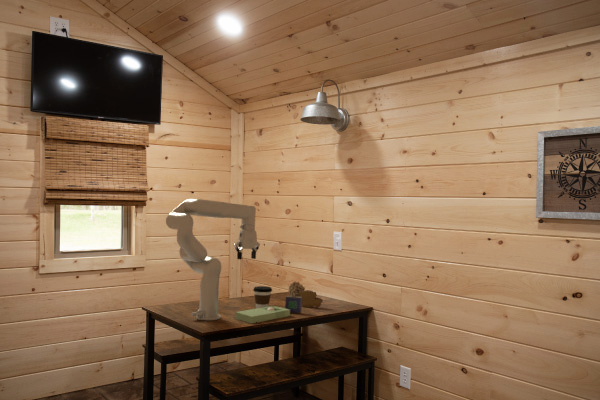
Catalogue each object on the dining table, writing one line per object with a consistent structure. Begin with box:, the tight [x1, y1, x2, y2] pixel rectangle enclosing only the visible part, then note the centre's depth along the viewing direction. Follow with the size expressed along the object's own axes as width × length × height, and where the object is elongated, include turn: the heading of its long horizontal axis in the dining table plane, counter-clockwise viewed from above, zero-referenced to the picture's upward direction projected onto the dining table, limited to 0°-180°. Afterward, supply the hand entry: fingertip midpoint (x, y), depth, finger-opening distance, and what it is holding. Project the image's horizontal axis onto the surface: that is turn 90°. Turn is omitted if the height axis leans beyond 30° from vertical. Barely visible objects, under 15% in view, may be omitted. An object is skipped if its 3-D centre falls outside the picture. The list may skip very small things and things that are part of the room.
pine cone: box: [288, 281, 306, 297], centre depth 322 cm, size 22×10×10 cm, turn 34°
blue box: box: [284, 294, 303, 314], centre depth 280 cm, size 9×3×11 cm, turn 80°
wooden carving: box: [299, 289, 324, 309], centre depth 296 cm, size 16×5×10 cm, turn 75°
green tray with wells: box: [234, 305, 291, 324], centre depth 266 cm, size 27×13×3 cm, turn 136°
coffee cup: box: [252, 285, 273, 309], centre depth 287 cm, size 11×11×12 cm
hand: (246, 258), depth 278 cm, fingers open, 9 cm apart
